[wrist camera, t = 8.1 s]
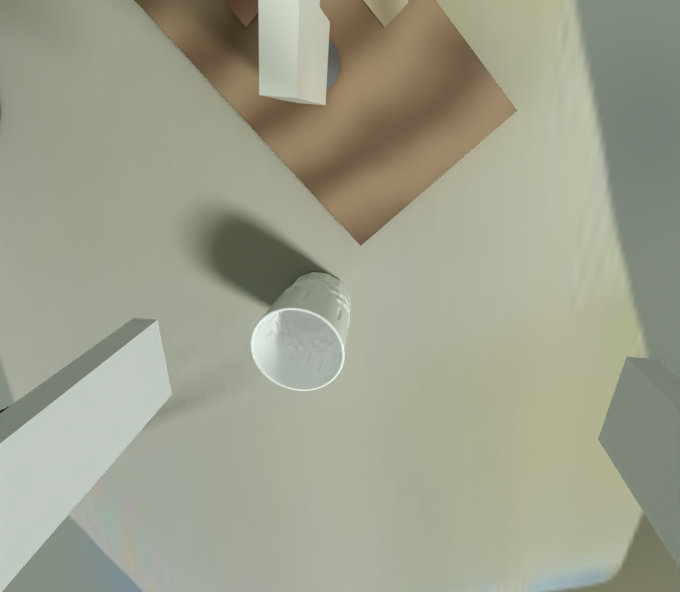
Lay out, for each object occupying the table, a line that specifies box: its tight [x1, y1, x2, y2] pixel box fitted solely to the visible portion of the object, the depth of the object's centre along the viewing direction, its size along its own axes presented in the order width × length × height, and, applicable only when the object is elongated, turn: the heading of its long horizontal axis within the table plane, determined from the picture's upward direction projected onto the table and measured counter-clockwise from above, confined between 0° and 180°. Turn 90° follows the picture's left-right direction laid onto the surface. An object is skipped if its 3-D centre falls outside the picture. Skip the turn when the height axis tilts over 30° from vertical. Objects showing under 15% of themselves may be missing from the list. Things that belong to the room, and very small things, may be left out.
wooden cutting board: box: [135, 0, 517, 245], centre depth 31 cm, size 26×16×3 cm, turn 43°
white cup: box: [250, 272, 351, 391], centre depth 37 cm, size 8×8×10 cm
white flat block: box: [258, 0, 330, 105], centre depth 25 cm, size 2×11×10 cm, turn 176°
